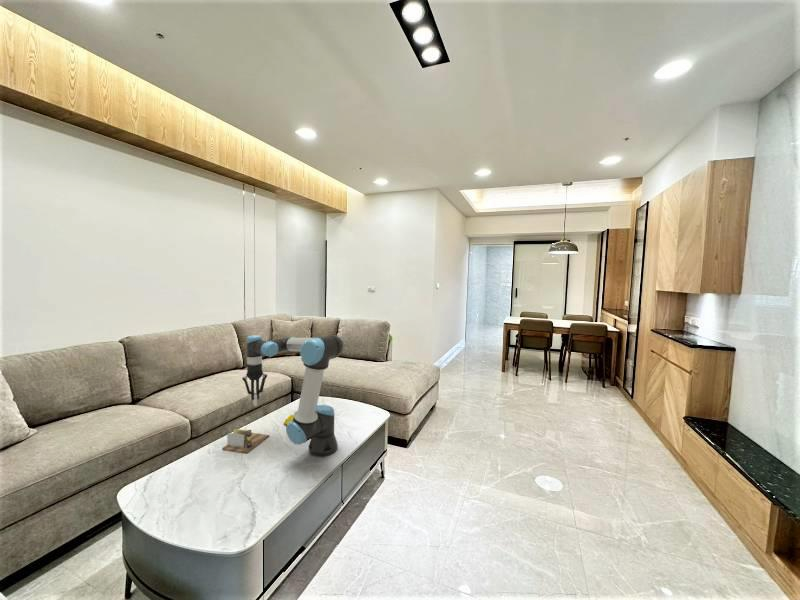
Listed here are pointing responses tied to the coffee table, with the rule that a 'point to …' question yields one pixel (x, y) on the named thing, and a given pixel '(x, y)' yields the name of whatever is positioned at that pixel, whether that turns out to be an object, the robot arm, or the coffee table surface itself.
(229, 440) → the fixed leaf
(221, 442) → the coffee table surface
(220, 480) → the coffee table surface
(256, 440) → the walnut board
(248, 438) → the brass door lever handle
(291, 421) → the door knocker
